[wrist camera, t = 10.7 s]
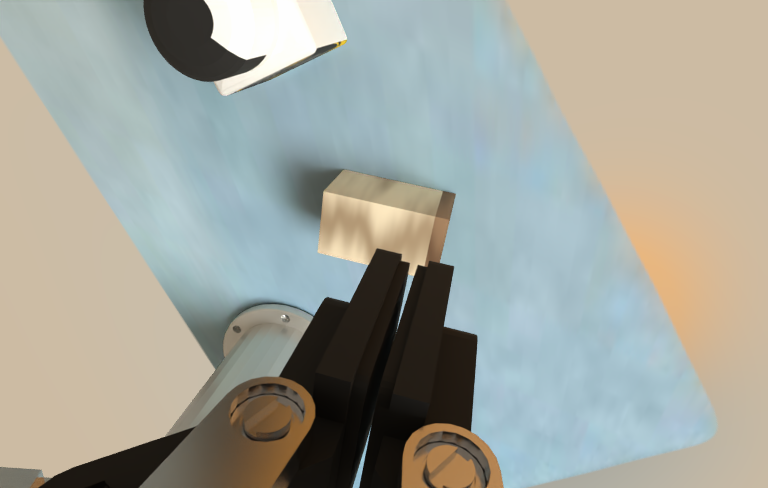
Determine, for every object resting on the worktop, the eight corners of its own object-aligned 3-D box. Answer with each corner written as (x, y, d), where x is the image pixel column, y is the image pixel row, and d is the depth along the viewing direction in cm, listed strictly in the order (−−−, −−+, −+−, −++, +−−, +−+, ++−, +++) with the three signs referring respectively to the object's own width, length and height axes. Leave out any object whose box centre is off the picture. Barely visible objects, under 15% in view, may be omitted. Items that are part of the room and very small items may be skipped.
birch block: (435, 280, 36) (317, 252, 37) (442, 250, 40) (337, 225, 41) (449, 219, 34) (323, 191, 35) (455, 193, 38) (343, 169, 39)
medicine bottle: (267, 81, 37) (174, 115, 27) (219, -17, 35) (96, -22, 24) (350, 41, 35) (283, 61, 24) (304, -68, 32) (208, -98, 22)
